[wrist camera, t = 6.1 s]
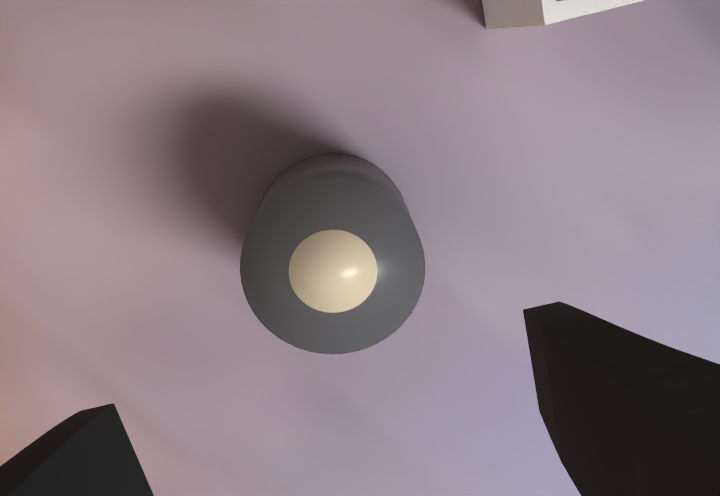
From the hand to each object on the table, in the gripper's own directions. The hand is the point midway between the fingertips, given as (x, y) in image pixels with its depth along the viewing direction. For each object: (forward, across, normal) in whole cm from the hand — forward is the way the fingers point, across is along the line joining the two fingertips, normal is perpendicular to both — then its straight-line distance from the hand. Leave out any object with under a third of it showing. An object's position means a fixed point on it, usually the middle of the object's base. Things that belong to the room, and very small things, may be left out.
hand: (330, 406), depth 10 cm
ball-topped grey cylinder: (+10, 0, 0) cm, 10 cm away
